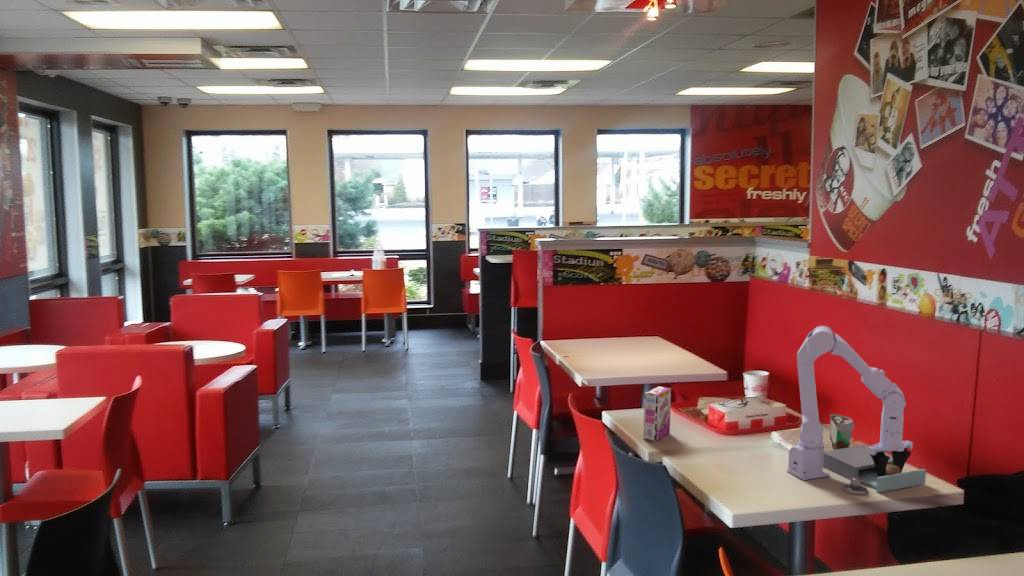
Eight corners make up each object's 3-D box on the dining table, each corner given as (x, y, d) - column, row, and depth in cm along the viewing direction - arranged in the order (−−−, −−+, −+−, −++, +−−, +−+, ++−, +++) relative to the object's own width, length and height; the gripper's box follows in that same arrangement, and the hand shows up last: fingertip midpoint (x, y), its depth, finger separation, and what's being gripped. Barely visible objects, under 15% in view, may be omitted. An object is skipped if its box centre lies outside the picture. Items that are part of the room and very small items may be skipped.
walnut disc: (889, 477, 226) (889, 472, 226) (874, 470, 231) (875, 465, 231) (904, 474, 228) (904, 469, 228) (889, 468, 233) (889, 463, 233)
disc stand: (854, 496, 221) (855, 484, 220) (837, 487, 227) (838, 476, 226) (872, 493, 223) (873, 481, 222) (855, 484, 229) (856, 473, 228)
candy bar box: (656, 442, 266) (657, 394, 264) (643, 439, 269) (643, 392, 267) (670, 433, 275) (671, 387, 273) (657, 431, 278) (658, 385, 276)
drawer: (925, 484, 228) (926, 469, 228) (878, 492, 222) (879, 478, 222) (888, 468, 241) (889, 454, 240) (843, 475, 235) (844, 462, 234)
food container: (856, 456, 251) (858, 426, 250) (836, 455, 252) (837, 425, 251) (848, 443, 263) (850, 414, 262) (828, 442, 264) (830, 413, 263)
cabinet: (900, 473, 237) (901, 459, 236) (854, 481, 231) (855, 467, 230) (864, 458, 250) (865, 444, 249) (820, 465, 244) (821, 451, 243)
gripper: (882, 437, 222) (879, 483, 223) (922, 430, 226) (919, 476, 228) (863, 429, 228) (860, 475, 230) (902, 423, 233) (900, 468, 235)
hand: (888, 475), depth 230 cm, fingers closed on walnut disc, 5 cm apart
